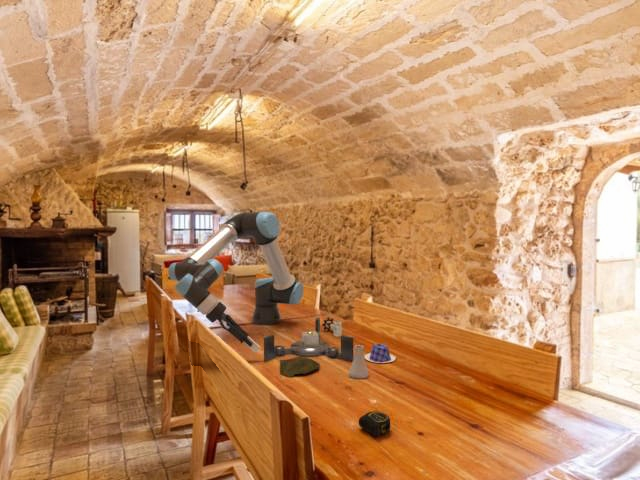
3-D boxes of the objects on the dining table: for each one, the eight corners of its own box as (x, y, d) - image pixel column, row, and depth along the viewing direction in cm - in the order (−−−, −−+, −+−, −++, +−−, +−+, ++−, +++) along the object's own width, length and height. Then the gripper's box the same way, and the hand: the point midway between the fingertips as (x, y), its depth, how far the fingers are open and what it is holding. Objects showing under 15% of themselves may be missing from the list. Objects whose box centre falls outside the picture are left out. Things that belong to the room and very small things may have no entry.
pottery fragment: (323, 376, 138) (323, 364, 138) (281, 379, 135) (281, 366, 135) (316, 362, 151) (316, 351, 151) (278, 365, 149) (278, 353, 149)
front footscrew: (277, 352, 163) (277, 330, 162) (286, 353, 160) (286, 331, 160) (260, 360, 153) (260, 337, 153) (270, 362, 151) (269, 338, 150)
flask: (371, 372, 140) (371, 344, 140) (366, 380, 133) (366, 350, 133) (351, 370, 142) (351, 342, 142) (345, 377, 136) (345, 348, 135)
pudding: (402, 361, 153) (402, 347, 152) (377, 366, 147) (377, 352, 146) (382, 352, 163) (382, 339, 163) (358, 357, 157) (358, 344, 157)
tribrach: (279, 338, 183) (279, 318, 182) (333, 335, 187) (332, 316, 187) (288, 366, 147) (288, 341, 146) (353, 361, 151) (353, 337, 151)
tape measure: (357, 429, 102) (357, 414, 102) (377, 421, 106) (377, 407, 105) (375, 441, 96) (375, 426, 96) (396, 432, 100) (396, 418, 100)
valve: (345, 336, 186) (334, 330, 197) (345, 321, 186) (334, 316, 197) (333, 337, 183) (322, 331, 194) (333, 323, 183) (321, 318, 194)
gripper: (206, 312, 155) (250, 352, 159) (202, 319, 142) (251, 363, 146) (220, 297, 156) (264, 338, 159) (218, 304, 143) (265, 348, 147)
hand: (257, 350), depth 153 cm, fingers closed
